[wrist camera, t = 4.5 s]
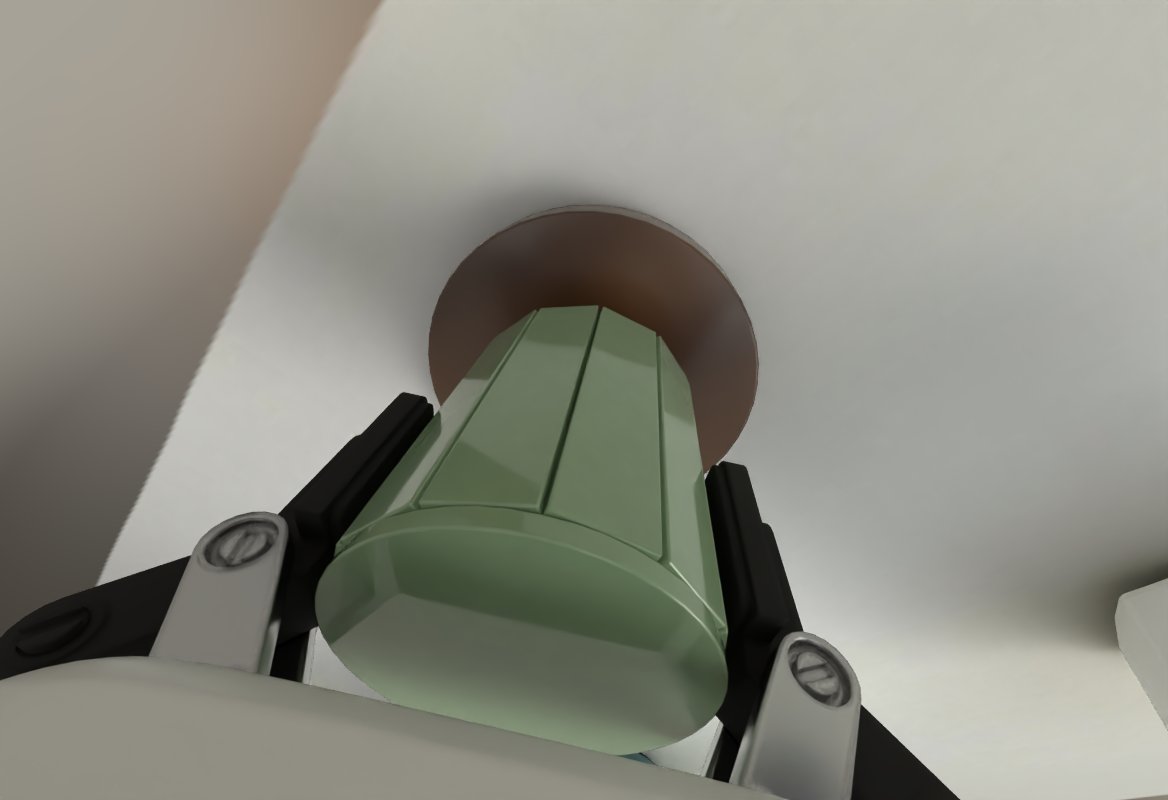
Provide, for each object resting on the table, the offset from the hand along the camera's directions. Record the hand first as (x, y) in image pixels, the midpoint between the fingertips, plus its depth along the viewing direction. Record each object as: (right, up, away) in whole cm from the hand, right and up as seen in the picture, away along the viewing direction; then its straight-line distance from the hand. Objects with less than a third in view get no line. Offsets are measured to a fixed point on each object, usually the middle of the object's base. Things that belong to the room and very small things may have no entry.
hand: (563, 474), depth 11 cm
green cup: (0, +2, +3) cm, 3 cm away
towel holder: (+1, +3, +6) cm, 7 cm away
